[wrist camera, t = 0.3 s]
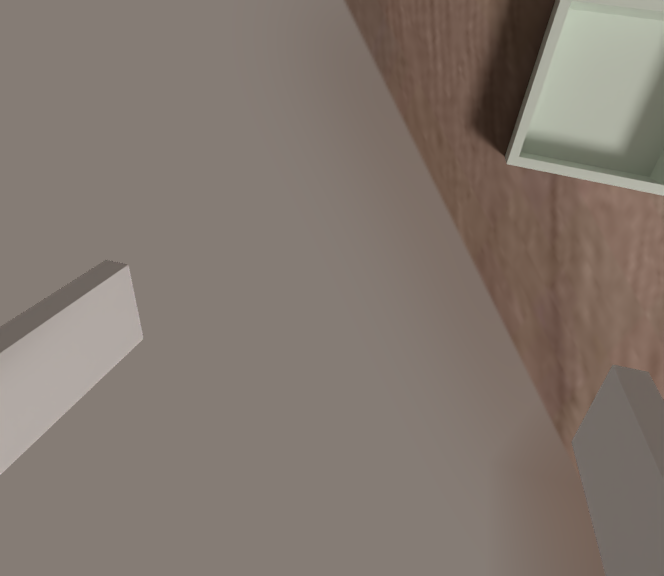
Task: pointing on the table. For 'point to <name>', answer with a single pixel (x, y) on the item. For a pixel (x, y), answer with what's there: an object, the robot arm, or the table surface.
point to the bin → (597, 96)
